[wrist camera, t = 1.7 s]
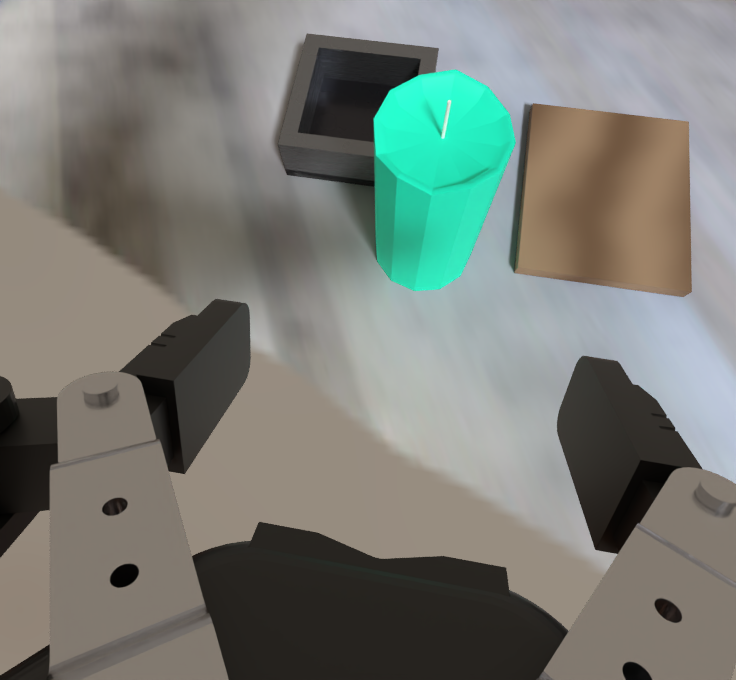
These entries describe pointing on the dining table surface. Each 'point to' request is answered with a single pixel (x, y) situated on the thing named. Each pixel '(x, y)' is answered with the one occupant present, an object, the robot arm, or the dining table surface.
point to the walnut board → (606, 200)
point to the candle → (436, 175)
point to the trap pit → (343, 104)
